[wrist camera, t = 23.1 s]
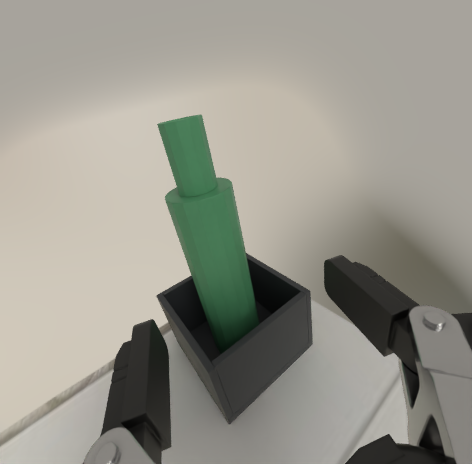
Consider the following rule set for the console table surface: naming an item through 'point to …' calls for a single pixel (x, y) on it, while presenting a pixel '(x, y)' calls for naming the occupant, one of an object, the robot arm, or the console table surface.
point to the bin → (251, 345)
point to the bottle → (209, 232)
